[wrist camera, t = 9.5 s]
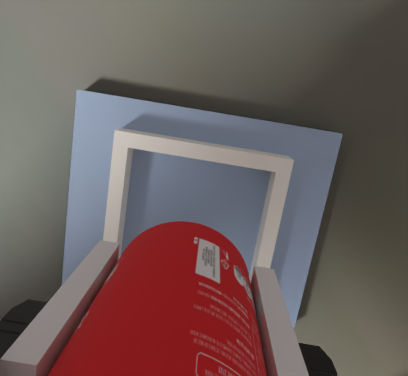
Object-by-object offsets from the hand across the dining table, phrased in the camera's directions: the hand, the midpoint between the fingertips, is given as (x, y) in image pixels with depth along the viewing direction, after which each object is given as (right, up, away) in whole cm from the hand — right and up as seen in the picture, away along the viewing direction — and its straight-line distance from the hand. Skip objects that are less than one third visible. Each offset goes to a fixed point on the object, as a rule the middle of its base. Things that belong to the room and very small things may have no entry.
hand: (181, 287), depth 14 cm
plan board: (0, +2, +9) cm, 9 cm away
